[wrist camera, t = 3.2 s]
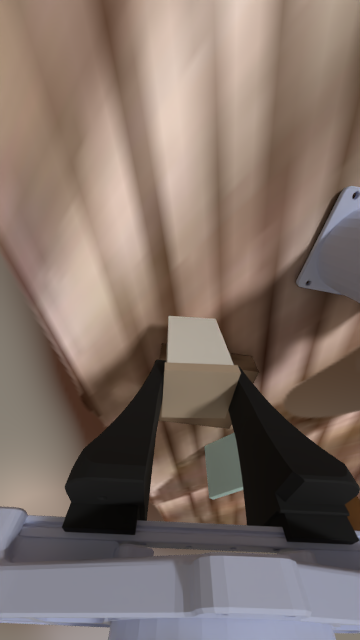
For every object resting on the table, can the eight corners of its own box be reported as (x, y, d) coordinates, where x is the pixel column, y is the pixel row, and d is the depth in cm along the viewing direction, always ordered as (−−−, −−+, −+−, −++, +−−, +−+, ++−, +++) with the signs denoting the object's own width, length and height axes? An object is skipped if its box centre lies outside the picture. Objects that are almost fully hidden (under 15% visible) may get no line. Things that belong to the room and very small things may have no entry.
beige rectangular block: (217, 317, 16) (240, 372, 11) (209, 356, 18) (225, 418, 13) (166, 314, 16) (164, 370, 10) (164, 354, 18) (161, 417, 13)
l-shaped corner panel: (204, 442, 34) (209, 497, 28) (263, 415, 30) (285, 472, 23) (241, 467, 38) (254, 519, 32) (298, 445, 34) (325, 501, 28)
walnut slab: (250, 354, 24) (259, 372, 21) (225, 409, 29) (229, 428, 26) (162, 341, 23) (159, 358, 20) (153, 400, 28) (150, 419, 26)
